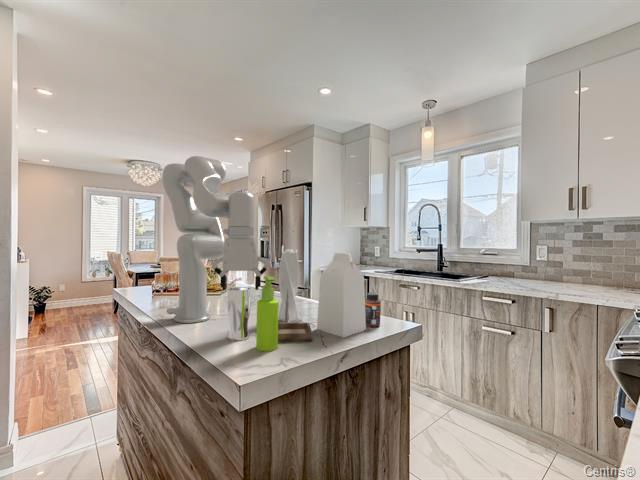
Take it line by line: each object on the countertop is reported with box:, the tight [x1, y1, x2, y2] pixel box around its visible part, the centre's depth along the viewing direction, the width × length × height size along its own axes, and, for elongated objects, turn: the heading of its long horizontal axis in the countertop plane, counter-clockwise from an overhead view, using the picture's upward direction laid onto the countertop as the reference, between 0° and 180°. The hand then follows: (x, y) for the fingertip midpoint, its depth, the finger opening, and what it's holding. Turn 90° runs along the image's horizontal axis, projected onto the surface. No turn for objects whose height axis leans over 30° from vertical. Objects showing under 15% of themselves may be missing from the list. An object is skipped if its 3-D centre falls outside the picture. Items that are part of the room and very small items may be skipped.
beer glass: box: [227, 286, 252, 342], centre depth 97 cm, size 7×7×15 cm
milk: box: [316, 252, 367, 338], centre depth 108 cm, size 12×12×26 cm
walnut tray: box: [278, 322, 313, 343], centre depth 100 cm, size 12×12×2 cm
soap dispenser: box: [255, 275, 280, 352], centre depth 88 cm, size 6×7×20 cm
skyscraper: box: [278, 245, 302, 323], centre depth 118 cm, size 8×8×28 cm
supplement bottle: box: [365, 292, 382, 328], centre depth 114 cm, size 6×6×11 cm
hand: (240, 289), depth 97 cm, fingers open, 9 cm apart
